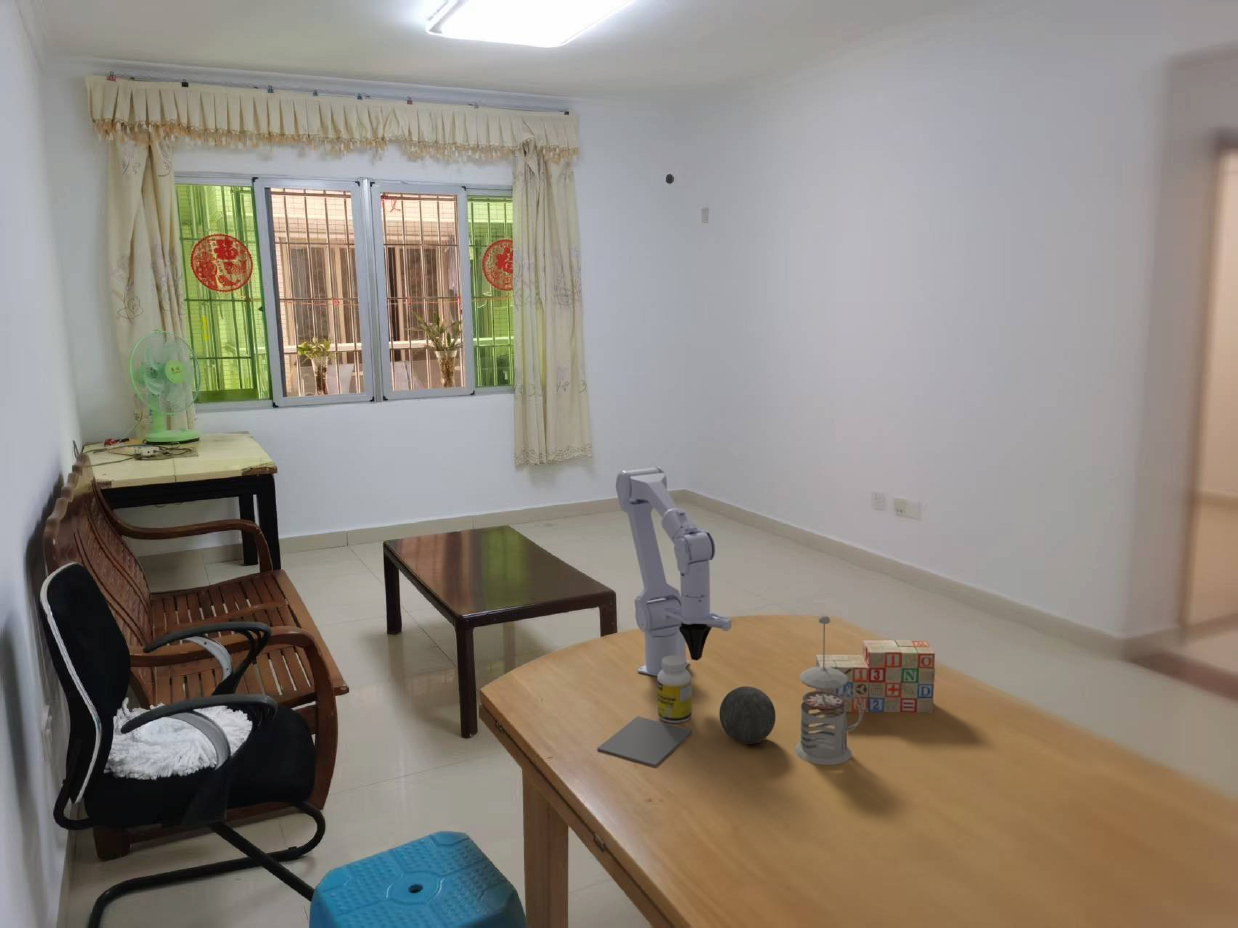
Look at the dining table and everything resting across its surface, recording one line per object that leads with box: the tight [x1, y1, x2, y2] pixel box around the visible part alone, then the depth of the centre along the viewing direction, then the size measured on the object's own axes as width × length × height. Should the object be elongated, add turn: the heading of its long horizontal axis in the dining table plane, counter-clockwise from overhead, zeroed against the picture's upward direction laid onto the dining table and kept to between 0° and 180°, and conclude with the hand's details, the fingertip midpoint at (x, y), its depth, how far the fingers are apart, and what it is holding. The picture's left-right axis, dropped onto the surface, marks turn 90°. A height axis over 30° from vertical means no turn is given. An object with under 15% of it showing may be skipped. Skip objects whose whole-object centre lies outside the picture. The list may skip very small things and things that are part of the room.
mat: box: [596, 715, 694, 768], centre depth 162 cm, size 14×12×1 cm
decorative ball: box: [718, 685, 777, 745], centre depth 160 cm, size 10×10×10 cm
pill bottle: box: [656, 655, 693, 724], centre depth 170 cm, size 6×6×12 cm
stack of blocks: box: [815, 639, 936, 714], centre depth 172 cm, size 21×6×12 cm, turn 85°
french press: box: [794, 614, 864, 766], centre depth 154 cm, size 10×12×25 cm
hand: (696, 658), depth 177 cm, fingers closed
